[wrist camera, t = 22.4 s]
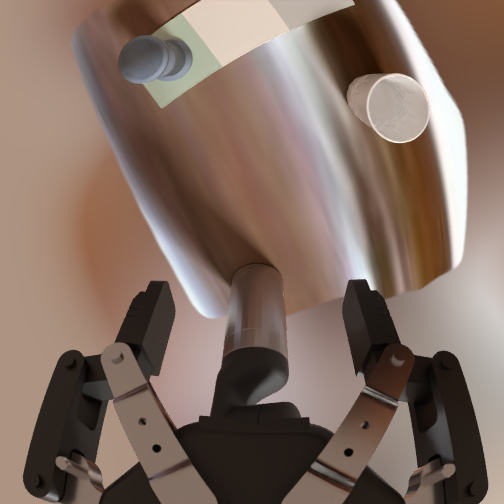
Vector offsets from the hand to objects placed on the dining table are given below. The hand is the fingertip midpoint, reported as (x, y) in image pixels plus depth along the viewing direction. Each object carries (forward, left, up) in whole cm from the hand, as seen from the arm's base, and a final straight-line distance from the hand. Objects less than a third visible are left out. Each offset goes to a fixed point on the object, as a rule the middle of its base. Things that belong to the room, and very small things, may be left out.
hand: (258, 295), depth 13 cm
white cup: (-2, -16, -30) cm, 34 cm away
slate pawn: (+16, +4, -30) cm, 34 cm away
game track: (+16, -6, -30) cm, 35 cm away
